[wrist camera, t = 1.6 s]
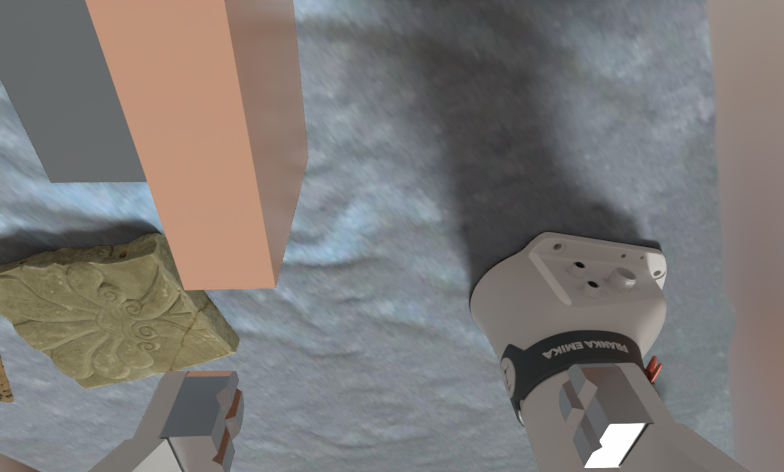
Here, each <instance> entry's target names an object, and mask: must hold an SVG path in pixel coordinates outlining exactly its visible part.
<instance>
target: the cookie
mask: <svg viewBox="0 0 784 472" xmlns="http://www.w3.org/2000/svg"><path fill="white" fill-rule="evenodd" d="M0 401H3V402H13V401H14V399H13V395H12V393H11V389H10V387H9V381H8V379H7V377H6V374H5V371H4V366H3V365H2V360H1V356H0Z"/></svg>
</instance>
